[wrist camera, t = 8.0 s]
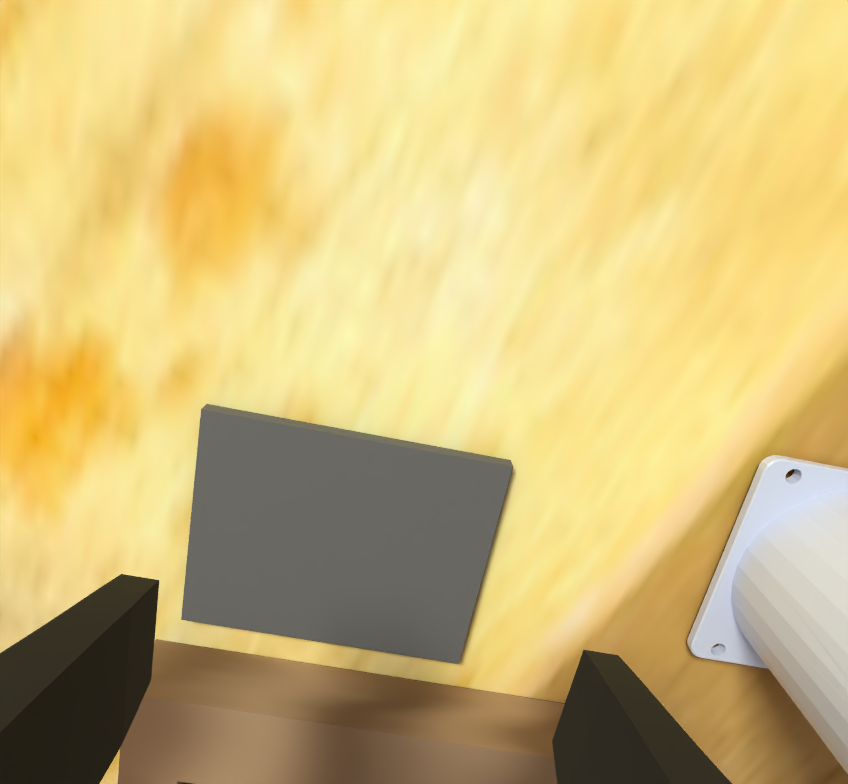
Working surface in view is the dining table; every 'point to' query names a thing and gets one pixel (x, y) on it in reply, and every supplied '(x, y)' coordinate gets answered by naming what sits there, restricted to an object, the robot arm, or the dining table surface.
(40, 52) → the dining table surface
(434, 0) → the dining table surface
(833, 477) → the robot arm
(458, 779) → the socket board
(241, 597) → the mat
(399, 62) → the dining table surface
